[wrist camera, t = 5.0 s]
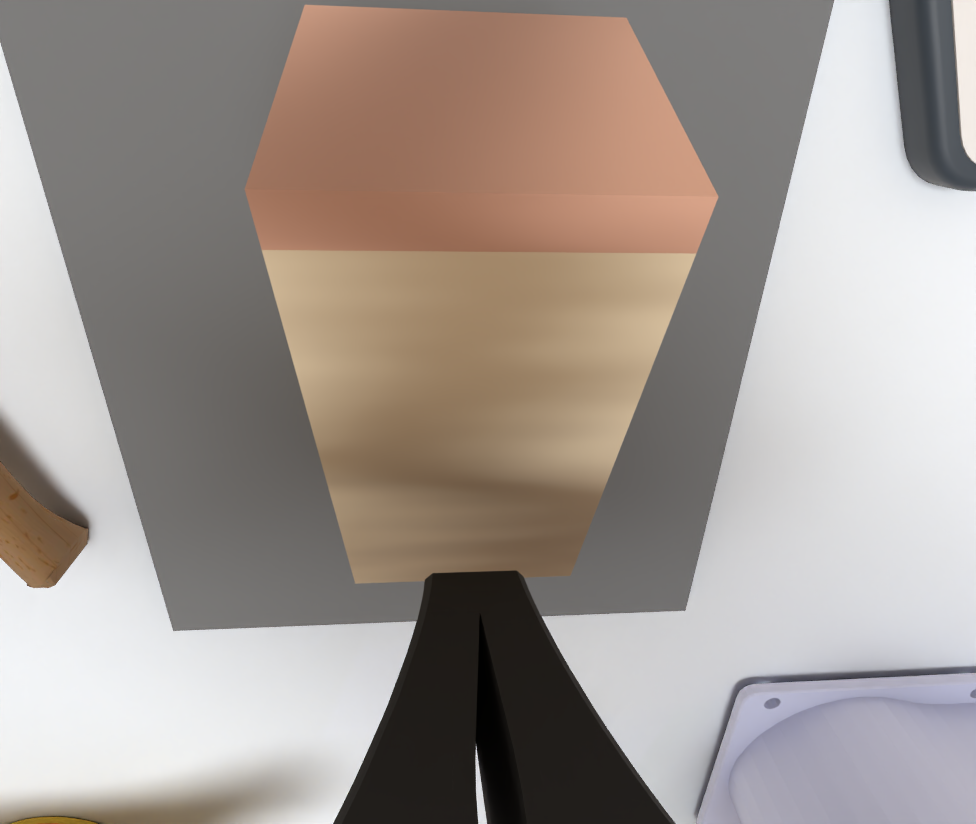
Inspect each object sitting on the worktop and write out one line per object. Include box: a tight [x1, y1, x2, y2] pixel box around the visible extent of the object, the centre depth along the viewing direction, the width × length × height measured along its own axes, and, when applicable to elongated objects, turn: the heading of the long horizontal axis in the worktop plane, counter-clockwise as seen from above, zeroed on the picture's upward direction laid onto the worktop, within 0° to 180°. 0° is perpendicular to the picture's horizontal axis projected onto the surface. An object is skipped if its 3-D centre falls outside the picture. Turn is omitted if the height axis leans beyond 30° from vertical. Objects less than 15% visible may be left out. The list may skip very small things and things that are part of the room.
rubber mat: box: [0, 0, 834, 631], centre depth 14 cm, size 14×15×1 cm
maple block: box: [245, 5, 718, 584], centre depth 10 cm, size 4×4×8 cm
